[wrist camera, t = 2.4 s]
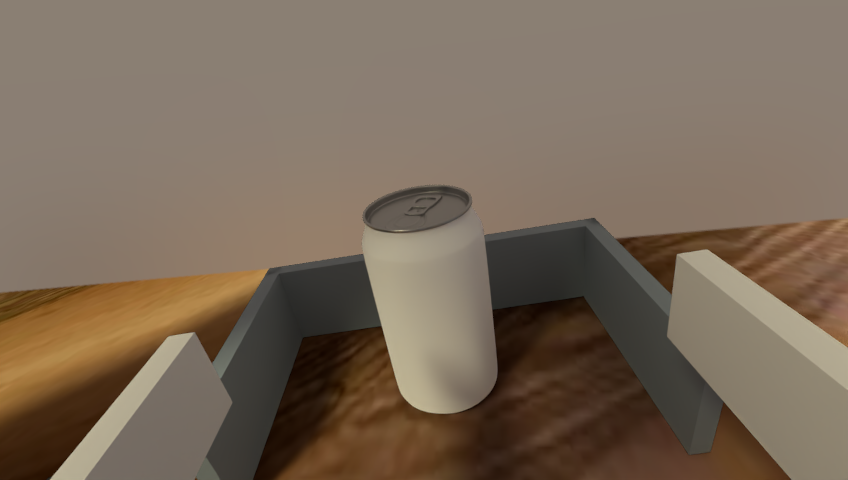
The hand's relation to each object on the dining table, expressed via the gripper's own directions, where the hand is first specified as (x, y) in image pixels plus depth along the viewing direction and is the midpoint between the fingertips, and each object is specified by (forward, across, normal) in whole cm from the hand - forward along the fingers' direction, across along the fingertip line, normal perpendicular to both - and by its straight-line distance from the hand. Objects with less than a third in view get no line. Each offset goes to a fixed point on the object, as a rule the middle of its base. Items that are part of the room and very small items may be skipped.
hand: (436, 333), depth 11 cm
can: (+10, -1, -12) cm, 16 cm away
